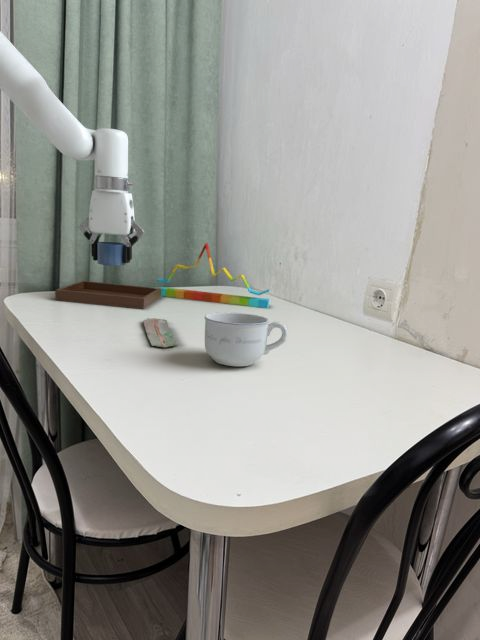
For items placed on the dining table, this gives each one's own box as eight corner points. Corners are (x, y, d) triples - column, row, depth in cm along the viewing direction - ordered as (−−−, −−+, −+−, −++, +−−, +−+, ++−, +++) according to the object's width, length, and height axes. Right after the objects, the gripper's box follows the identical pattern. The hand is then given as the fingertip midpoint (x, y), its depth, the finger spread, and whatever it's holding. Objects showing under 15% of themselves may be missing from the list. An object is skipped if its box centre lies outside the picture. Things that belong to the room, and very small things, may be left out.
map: (151, 351, 89) (151, 346, 89) (142, 318, 108) (142, 314, 107) (180, 351, 91) (180, 346, 91) (166, 319, 109) (166, 315, 109)
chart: (268, 305, 136) (273, 249, 132) (267, 307, 133) (272, 250, 129) (160, 293, 140) (161, 238, 136) (156, 295, 137) (158, 239, 132)
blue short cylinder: (92, 264, 122) (92, 243, 120) (103, 261, 128) (103, 241, 127) (120, 266, 121) (120, 245, 120) (129, 263, 128) (129, 243, 126)
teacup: (193, 365, 82) (195, 318, 80) (214, 349, 93) (217, 306, 90) (276, 379, 80) (281, 330, 77) (288, 360, 90) (293, 316, 88)
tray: (55, 300, 120) (55, 289, 120) (82, 289, 135) (82, 280, 134) (143, 309, 119) (143, 298, 119) (161, 297, 134) (161, 288, 133)
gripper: (152, 189, 123) (150, 262, 128) (82, 183, 124) (83, 256, 129) (142, 188, 116) (141, 266, 121) (68, 182, 116) (70, 259, 121)
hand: (111, 260), depth 125 cm, fingers closed on blue short cylinder, 6 cm apart
